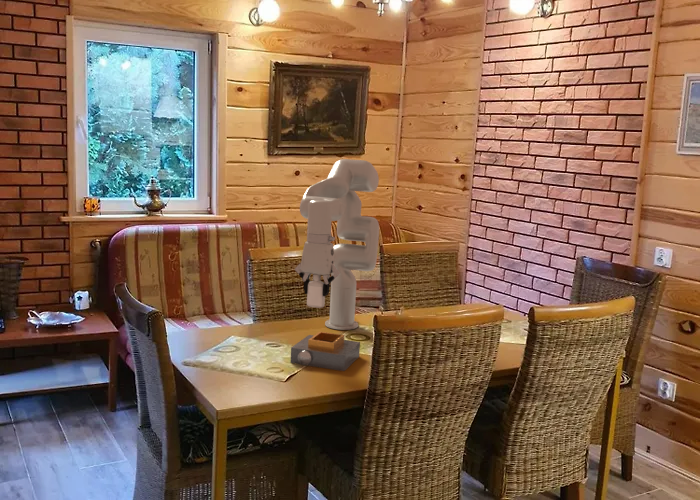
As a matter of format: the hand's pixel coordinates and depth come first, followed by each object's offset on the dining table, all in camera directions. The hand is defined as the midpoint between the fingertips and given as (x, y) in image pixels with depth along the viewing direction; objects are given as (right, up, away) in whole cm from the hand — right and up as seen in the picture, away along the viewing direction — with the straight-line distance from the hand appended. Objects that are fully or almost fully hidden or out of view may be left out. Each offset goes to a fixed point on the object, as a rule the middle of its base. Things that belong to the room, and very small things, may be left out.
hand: (316, 293), depth 232 cm
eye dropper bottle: (0, -4, +1) cm, 4 cm away
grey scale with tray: (+3, -22, +2) cm, 22 cm away
